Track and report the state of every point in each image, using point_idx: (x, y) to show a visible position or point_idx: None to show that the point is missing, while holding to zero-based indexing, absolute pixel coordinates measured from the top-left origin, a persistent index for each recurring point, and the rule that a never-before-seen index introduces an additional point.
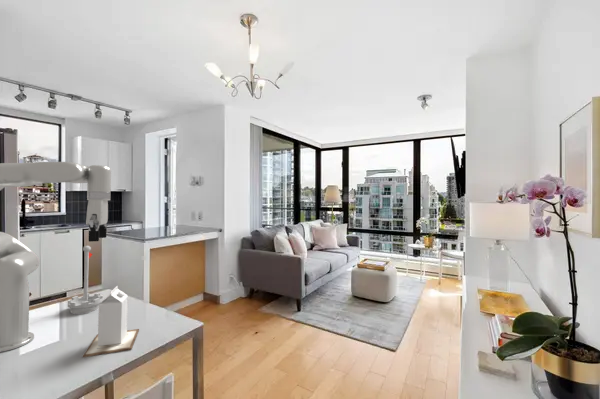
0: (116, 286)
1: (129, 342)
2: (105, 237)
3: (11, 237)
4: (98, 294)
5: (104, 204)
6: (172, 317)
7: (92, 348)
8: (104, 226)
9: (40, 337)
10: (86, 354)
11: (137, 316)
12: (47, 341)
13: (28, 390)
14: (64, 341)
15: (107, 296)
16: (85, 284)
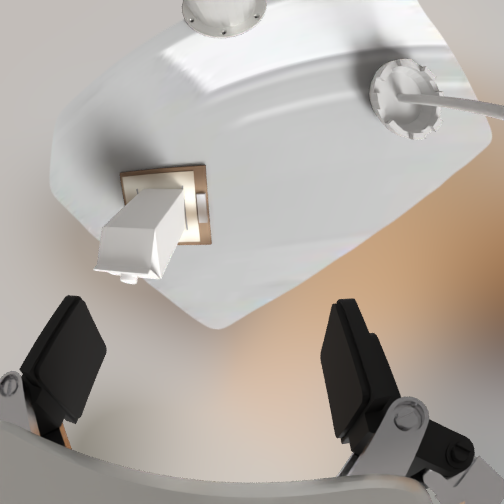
0: (139, 273)
1: None
2: (323, 354)
3: None
4: (432, 127)
5: None
6: (261, 294)
7: (138, 181)
8: (351, 456)
9: (238, 46)
10: (122, 178)
11: (296, 226)
12: (209, 70)
13: (56, 142)
14: (197, 105)
15: (135, 240)
16: (434, 100)
